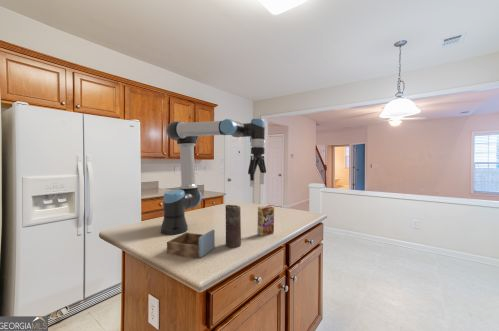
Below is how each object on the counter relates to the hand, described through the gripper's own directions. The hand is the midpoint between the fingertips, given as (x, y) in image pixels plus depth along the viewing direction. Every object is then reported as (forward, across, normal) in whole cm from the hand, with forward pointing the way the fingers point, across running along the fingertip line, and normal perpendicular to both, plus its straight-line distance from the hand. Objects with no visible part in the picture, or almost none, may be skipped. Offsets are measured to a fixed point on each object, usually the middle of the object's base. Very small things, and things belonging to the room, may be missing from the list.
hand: (257, 185), depth 128 cm
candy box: (+28, +2, -4) cm, 28 cm away
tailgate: (+26, -35, +9) cm, 45 cm away
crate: (+27, -36, +17) cm, 48 cm away
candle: (+28, -22, +3) cm, 36 cm away
